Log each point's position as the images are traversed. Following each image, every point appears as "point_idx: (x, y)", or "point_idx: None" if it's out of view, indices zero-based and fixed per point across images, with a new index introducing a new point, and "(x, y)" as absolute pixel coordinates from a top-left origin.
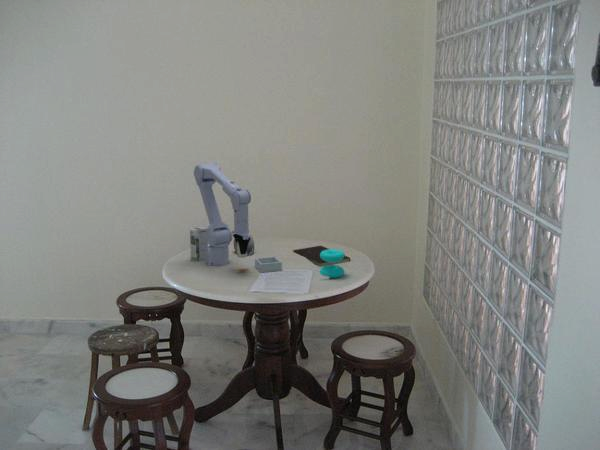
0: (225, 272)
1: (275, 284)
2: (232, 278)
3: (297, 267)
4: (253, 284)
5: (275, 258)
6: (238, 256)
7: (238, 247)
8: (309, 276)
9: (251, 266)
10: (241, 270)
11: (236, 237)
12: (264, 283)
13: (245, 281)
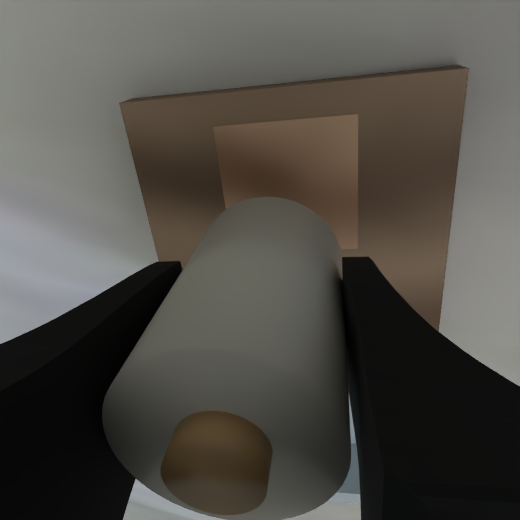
0: (405, 4)
1: (19, 335)
2: (174, 59)
3: (330, 510)
4: (9, 210)
5: (338, 492)
6: (227, 212)
7: (175, 295)
8: (154, 500)
9: (492, 295)
10: (308, 183)
11: (374, 484)
12: (35, 283)
13: (80, 166)
